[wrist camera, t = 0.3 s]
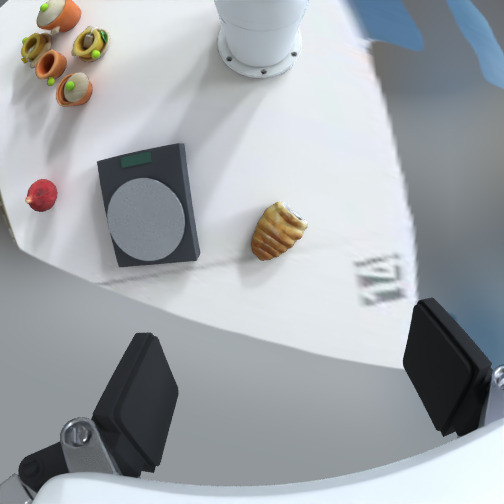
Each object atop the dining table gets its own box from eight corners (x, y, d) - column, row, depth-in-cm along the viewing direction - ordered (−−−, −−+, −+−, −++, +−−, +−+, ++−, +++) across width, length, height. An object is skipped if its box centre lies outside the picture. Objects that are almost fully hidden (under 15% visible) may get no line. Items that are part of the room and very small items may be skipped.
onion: (60, 171, 42) (32, 178, 34) (68, 200, 44) (42, 211, 36) (40, 182, 42) (13, 190, 35) (48, 210, 44) (22, 221, 37)
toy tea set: (23, 54, 32) (-7, 48, 23) (71, -4, 28) (45, -19, 19) (79, 123, 39) (45, 122, 30) (139, 54, 35) (113, 37, 26)
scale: (105, 160, 41) (96, 161, 38) (184, 143, 41) (178, 143, 38) (125, 260, 48) (118, 267, 45) (200, 253, 47) (196, 261, 44)
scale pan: (102, 185, 40) (100, 186, 39) (178, 171, 39) (177, 171, 38) (118, 262, 44) (117, 264, 44) (192, 255, 44) (191, 257, 43)
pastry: (273, 265, 47) (274, 275, 44) (239, 242, 46) (238, 250, 43) (309, 220, 45) (313, 227, 41) (275, 195, 43) (277, 199, 40)
